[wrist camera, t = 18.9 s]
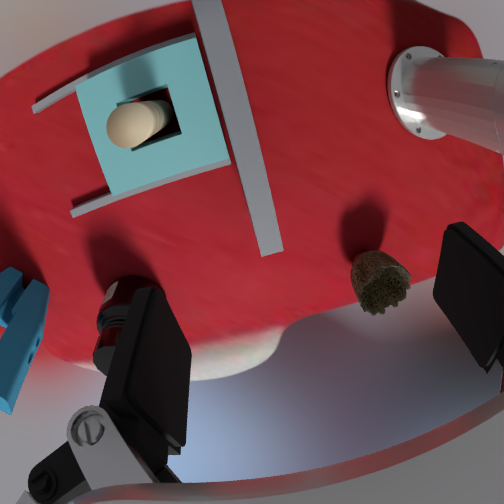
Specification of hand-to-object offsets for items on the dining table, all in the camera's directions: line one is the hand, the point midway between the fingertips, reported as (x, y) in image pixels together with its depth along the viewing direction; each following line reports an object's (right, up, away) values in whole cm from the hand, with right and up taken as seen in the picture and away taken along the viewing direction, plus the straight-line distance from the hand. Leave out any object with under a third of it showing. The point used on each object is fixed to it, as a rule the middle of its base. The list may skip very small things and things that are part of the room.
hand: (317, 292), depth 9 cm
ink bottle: (-18, -5, +31) cm, 36 cm away
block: (-37, -4, +27) cm, 46 cm away
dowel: (-12, +16, +19) cm, 27 cm away
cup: (+14, 0, +31) cm, 34 cm away
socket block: (-12, +16, +19) cm, 27 cm away
